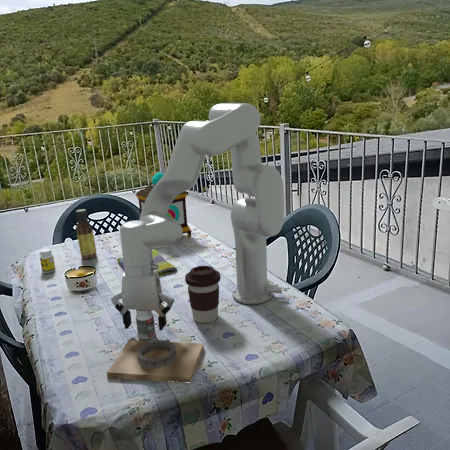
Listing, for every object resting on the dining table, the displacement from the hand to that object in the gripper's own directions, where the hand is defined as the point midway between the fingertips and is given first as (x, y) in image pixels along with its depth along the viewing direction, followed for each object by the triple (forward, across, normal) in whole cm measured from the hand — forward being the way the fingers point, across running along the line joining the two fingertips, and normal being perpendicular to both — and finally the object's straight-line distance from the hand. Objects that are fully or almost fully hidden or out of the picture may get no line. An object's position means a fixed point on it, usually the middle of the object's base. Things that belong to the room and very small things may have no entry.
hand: (145, 327), depth 121 cm
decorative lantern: (+2, +20, -82) cm, 84 cm away
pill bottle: (+3, 0, 0) cm, 3 cm away
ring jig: (+3, -7, +12) cm, 14 cm away
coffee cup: (+3, -14, -11) cm, 18 cm away
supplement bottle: (+3, +54, -42) cm, 68 cm away
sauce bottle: (+3, +45, -57) cm, 73 cm away
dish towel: (+3, +17, -48) cm, 51 cm away
